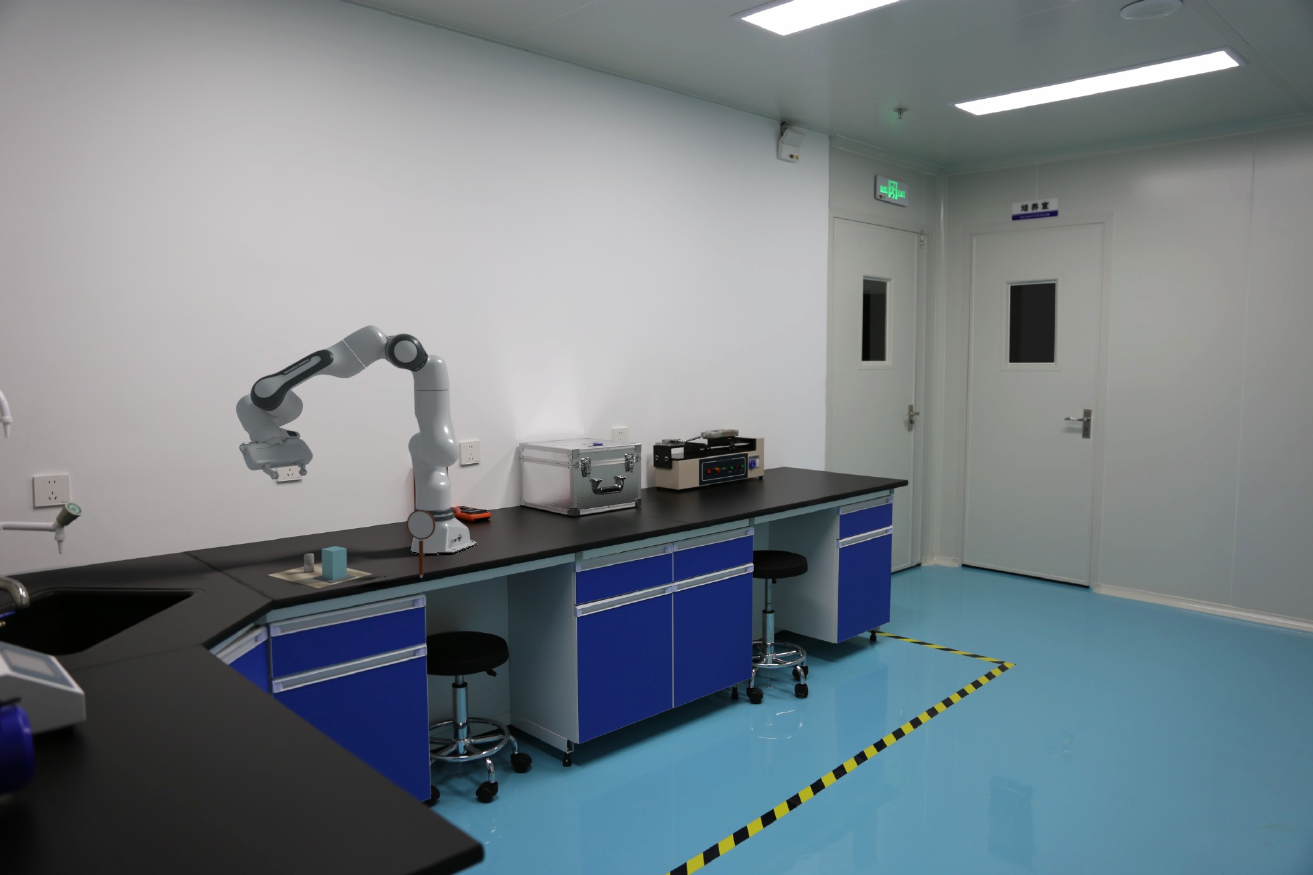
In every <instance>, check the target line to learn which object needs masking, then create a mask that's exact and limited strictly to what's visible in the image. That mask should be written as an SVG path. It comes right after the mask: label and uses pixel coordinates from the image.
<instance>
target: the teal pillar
mask: <svg viewBox="0 0 1313 875" xmlns="http://www.w3.org/2000/svg"><path fill="white" fill-rule="evenodd" d="M347 555H348V554H347V547H340V546H339V545H338V546H336V545H335V546H330V547H326V548H322V549H321V563H322V577H323V578H327V579H331V580H335V579H338V578H342V577H346V576H347V568H348V567H347V566H348V565H347V564H348V561H347V560H348V559H347V558H348V556H347Z"/></svg>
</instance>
